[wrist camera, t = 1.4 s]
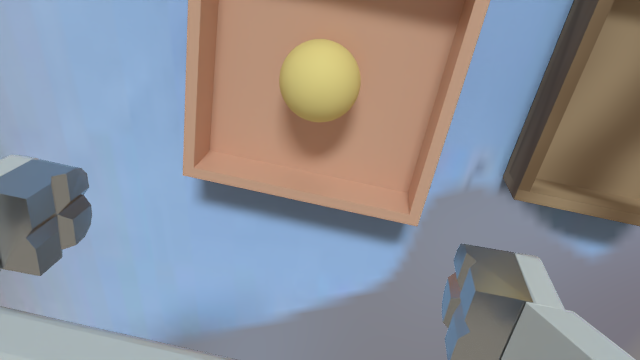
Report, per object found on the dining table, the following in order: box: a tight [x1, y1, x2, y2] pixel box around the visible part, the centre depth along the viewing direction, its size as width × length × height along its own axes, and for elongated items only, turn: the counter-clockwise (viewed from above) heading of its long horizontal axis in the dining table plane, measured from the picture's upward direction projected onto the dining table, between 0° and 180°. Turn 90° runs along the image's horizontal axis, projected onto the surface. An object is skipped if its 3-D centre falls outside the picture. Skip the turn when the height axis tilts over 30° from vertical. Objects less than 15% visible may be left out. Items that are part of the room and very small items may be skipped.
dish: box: [183, 0, 490, 226], centre depth 23 cm, size 13×13×3 cm
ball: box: [279, 39, 361, 122], centre depth 22 cm, size 4×4×4 cm
